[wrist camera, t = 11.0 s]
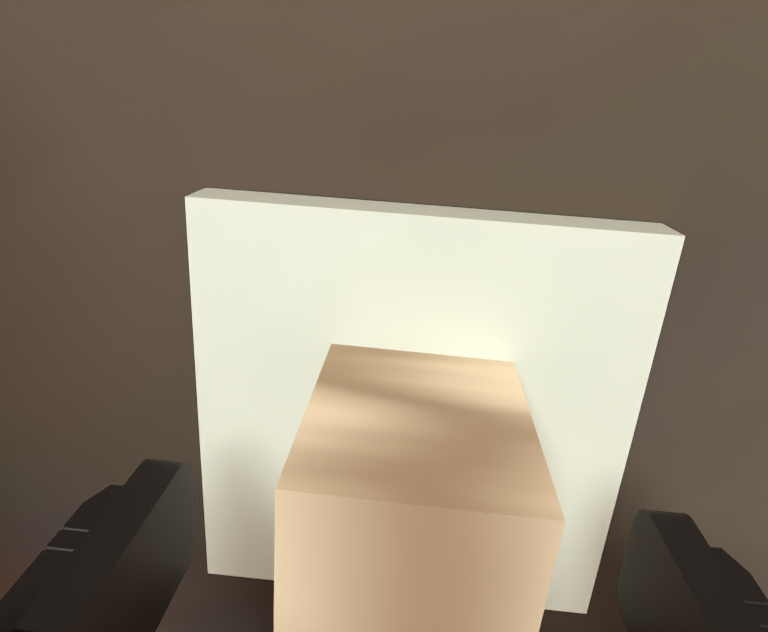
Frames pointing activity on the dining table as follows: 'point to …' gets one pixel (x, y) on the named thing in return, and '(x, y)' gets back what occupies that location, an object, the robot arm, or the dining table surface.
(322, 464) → the beech block
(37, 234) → the dining table surface
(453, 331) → the plate
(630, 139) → the dining table surface
